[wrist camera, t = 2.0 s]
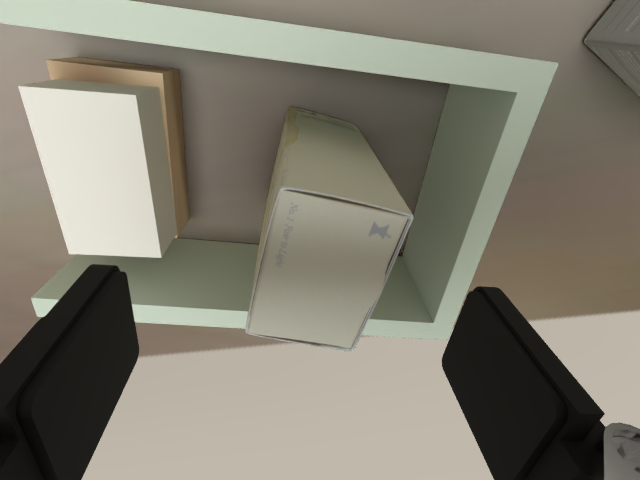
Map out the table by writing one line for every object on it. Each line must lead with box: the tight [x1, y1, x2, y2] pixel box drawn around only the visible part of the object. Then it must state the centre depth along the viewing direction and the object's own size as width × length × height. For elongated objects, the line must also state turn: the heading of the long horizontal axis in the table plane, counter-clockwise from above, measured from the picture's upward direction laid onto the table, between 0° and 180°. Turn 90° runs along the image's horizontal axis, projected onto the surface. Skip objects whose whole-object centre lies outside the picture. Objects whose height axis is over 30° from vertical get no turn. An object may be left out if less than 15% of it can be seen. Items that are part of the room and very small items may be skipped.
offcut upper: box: [18, 79, 177, 258], centre depth 18 cm, size 5×8×3 cm, turn 175°
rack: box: [0, 0, 559, 340], centre depth 19 cm, size 22×14×7 cm, turn 83°
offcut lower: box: [46, 57, 189, 238], centre depth 20 cm, size 5×9×3 cm, turn 173°
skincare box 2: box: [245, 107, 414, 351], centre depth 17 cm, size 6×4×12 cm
